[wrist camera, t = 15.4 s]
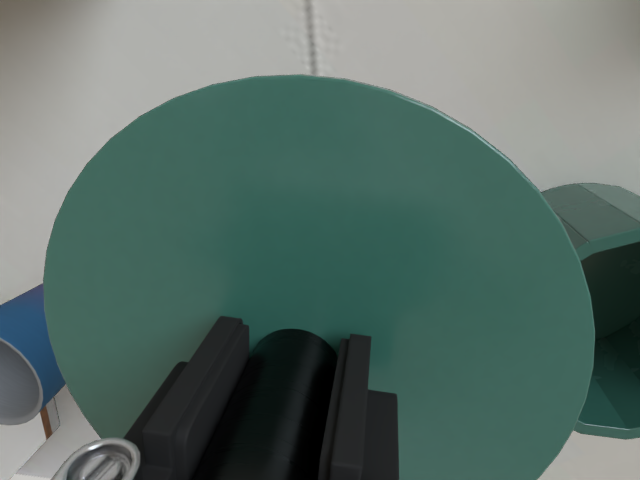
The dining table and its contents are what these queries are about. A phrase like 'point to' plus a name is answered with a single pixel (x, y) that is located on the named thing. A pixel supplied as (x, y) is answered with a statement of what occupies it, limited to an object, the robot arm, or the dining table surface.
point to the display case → (25, 439)
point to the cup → (26, 359)
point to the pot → (608, 299)
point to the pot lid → (323, 278)
